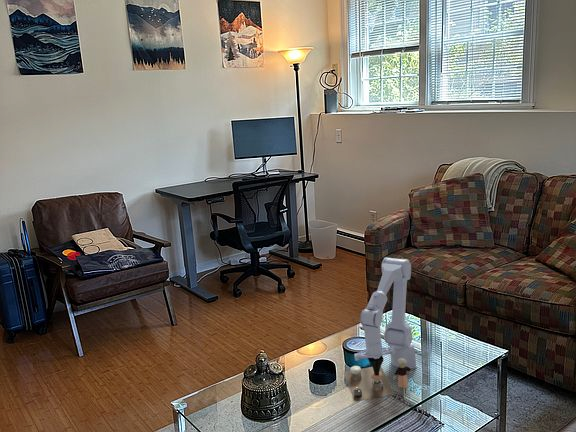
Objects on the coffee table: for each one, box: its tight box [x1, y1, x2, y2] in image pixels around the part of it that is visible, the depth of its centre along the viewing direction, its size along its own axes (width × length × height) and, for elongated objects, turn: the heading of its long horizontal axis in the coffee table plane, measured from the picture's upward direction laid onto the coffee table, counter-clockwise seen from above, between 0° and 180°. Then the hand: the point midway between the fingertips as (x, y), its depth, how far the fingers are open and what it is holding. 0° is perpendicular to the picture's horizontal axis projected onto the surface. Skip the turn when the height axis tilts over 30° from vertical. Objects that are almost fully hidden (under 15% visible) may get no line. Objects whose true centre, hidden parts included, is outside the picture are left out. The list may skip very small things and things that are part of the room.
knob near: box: [371, 371, 382, 384], centre depth 201 cm, size 4×4×4 cm
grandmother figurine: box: [392, 358, 413, 389], centre depth 200 cm, size 8×4×13 cm, turn 117°
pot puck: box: [354, 387, 362, 397], centre depth 199 cm, size 3×3×3 cm
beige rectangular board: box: [343, 366, 396, 402], centre depth 206 cm, size 15×20×4 cm
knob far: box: [349, 365, 362, 374], centre depth 210 cm, size 4×4×4 cm
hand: (376, 373), depth 200 cm, fingers closed
